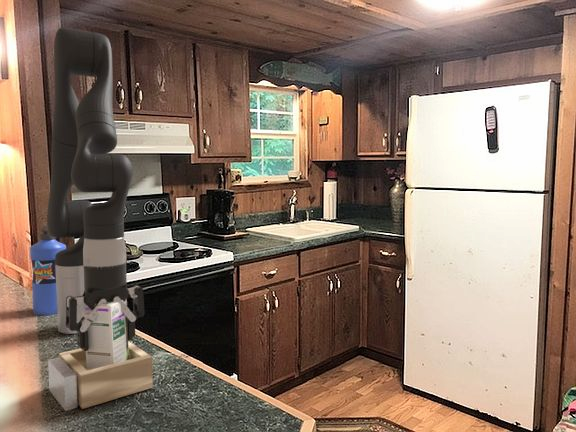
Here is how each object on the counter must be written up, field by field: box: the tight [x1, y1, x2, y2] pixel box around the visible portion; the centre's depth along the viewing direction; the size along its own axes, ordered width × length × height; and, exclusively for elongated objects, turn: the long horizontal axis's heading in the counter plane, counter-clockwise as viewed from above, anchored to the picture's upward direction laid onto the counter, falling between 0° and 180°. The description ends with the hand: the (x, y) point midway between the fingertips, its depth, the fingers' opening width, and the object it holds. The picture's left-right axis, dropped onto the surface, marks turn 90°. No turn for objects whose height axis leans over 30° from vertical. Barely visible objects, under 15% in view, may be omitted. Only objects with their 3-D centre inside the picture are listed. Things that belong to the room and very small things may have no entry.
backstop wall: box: [47, 356, 79, 412], centre depth 88 cm, size 10×2×6 cm, turn 41°
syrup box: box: [84, 298, 129, 371], centre depth 93 cm, size 6×6×14 cm
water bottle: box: [29, 224, 67, 316], centre depth 140 cm, size 9×9×25 cm
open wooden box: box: [58, 340, 154, 410], centre depth 93 cm, size 13×13×6 cm
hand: (107, 344), depth 93 cm, fingers closed on syrup box, 8 cm apart
